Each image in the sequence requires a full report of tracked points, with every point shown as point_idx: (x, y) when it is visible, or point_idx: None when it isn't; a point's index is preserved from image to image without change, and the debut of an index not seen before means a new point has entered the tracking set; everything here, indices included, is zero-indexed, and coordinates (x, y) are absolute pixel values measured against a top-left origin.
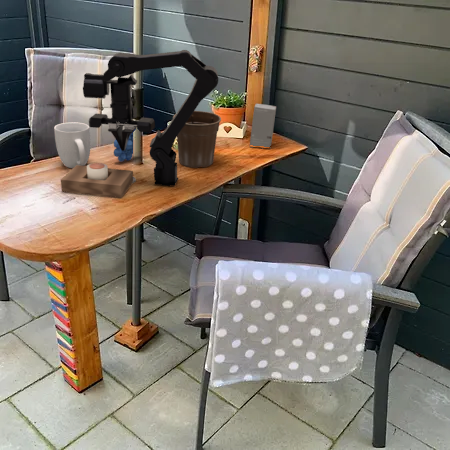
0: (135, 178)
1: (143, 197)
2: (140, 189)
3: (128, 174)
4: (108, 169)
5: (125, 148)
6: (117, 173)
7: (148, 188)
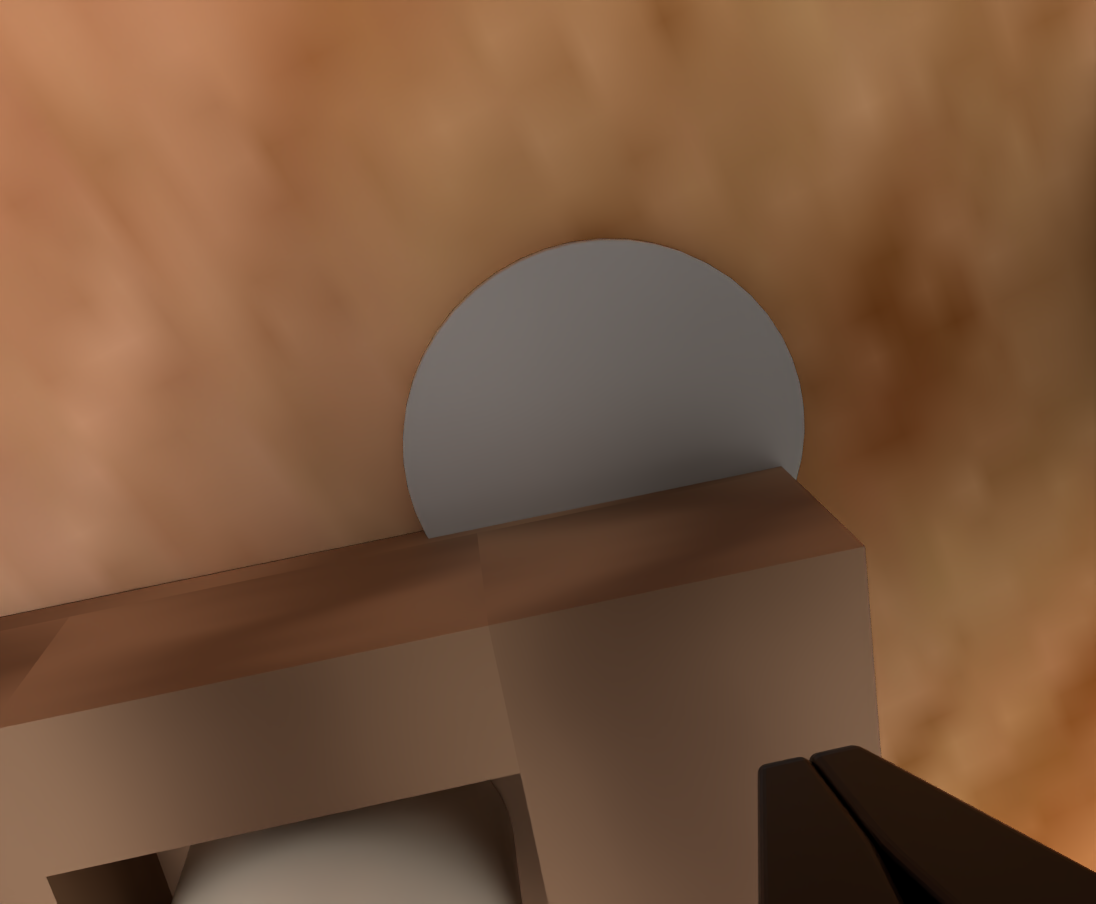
0: (772, 330)
1: (1088, 827)
2: (973, 632)
3: (858, 742)
4: (371, 712)
5: (885, 763)
6: (643, 795)
7: (1076, 550)
